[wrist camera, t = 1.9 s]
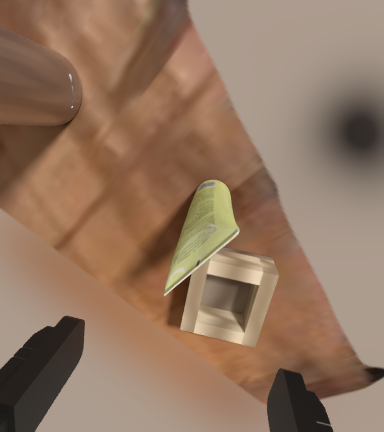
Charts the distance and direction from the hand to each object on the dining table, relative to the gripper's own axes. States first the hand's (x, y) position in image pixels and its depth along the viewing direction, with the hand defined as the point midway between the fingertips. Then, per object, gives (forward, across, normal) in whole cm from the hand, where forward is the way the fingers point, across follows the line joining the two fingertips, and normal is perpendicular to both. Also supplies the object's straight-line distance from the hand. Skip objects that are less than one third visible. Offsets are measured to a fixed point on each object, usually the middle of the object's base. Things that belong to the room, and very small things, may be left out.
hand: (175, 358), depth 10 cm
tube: (+28, 0, 0) cm, 28 cm away
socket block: (+27, -5, +13) cm, 31 cm away
